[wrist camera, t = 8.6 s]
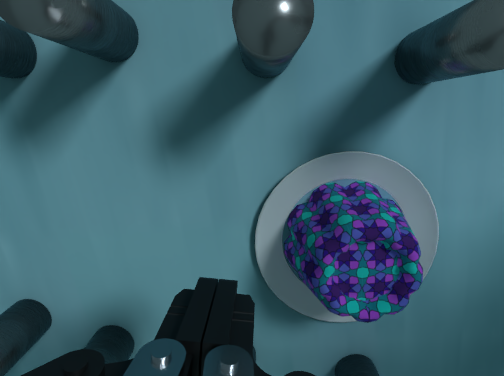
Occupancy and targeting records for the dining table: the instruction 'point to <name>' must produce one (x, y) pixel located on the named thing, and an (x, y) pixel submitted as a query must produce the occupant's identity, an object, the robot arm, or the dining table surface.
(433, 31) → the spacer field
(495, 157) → the dining table surface
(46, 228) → the dining table surface
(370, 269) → the pudding
